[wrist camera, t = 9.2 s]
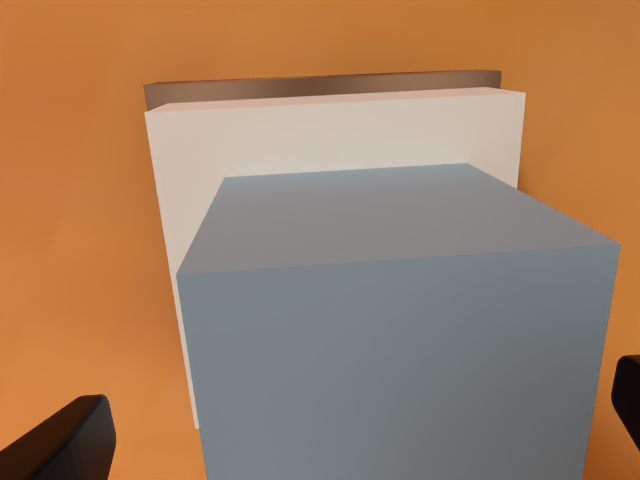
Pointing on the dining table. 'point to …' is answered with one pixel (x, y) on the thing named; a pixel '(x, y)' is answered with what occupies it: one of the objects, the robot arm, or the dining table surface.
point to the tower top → (319, 146)
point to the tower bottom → (314, 86)
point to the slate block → (393, 327)
